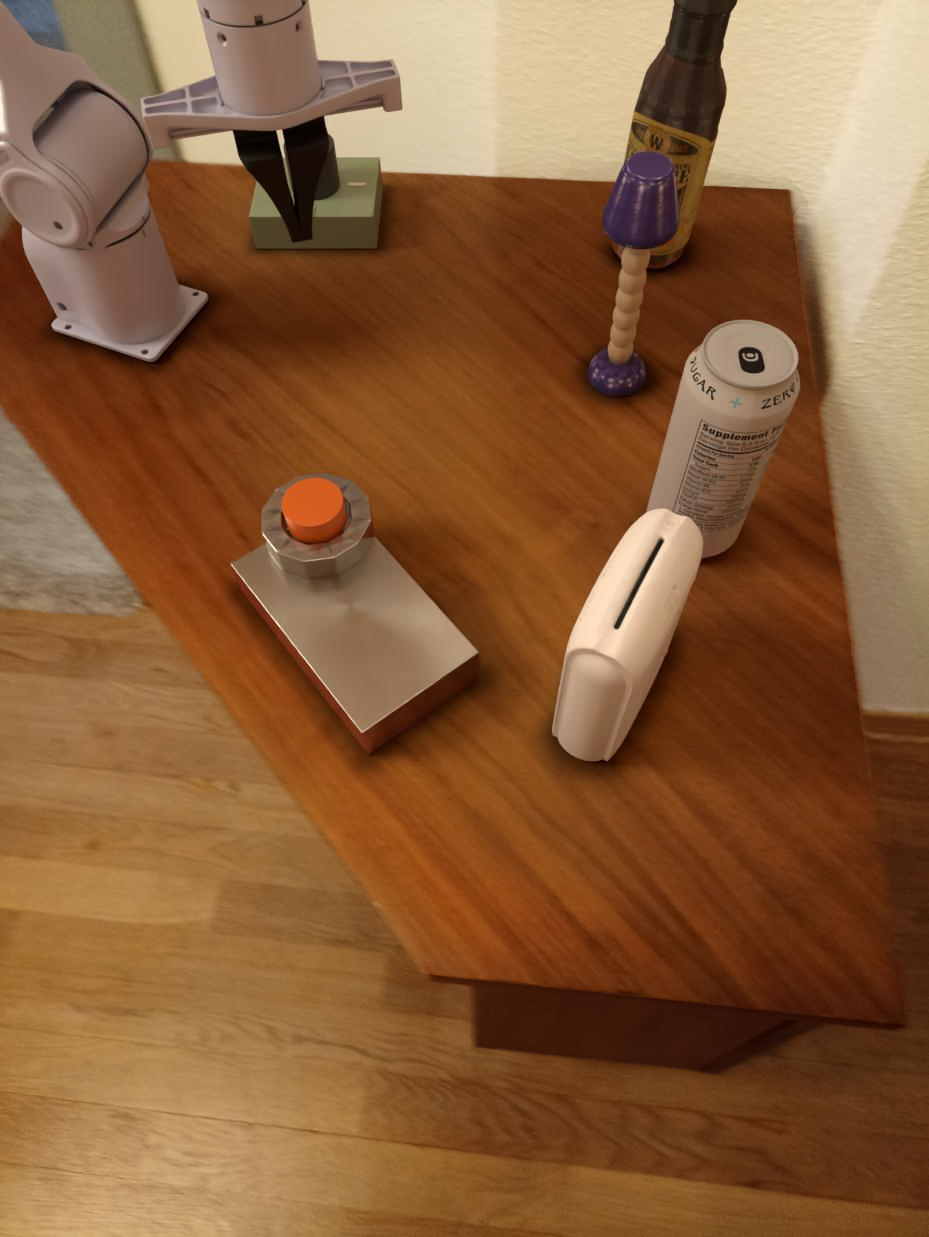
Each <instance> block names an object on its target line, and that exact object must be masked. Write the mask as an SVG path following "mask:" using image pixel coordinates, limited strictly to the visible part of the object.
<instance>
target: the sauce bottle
mask: <svg viewBox="0 0 929 1237" xmlns="http://www.w3.org/2000/svg"><path fill="white" fill-rule="evenodd" d="M737 4H738V0H673V6H672V12H671V18H670V21H669V25H668V32H667V34H666V36H665V40H664V45H663V46H662V48H660V51H659V52H658V53H657V55H656V57H655V58H654V59H653V60H652V62H651V63H650V65H649V66H648V68H647V70H646V71H645V74H644V77H643V80H642V84H641V87H640V90H639V93H638V96H637V99H636V103H635V105H634V106H635V107H634V110H633V113H632V118H631V123H630V129H629V133H628V139H627V144H626V149H625V153H624V154H625V155H624V159H623V164H624V163H625V161H626V160H627V159H628V158H629V157H630V156H632V155H633V154H635V153H638V152H642V151H654V152H659V153H662V154H664V155H665V156H667V157H668V158H669V159H670V160H671V161H672V163H673V164H674V167H675V172H676V181H677V193H678V206H679V226H678V230H677V232H676V234H675V235H674V237H673V238H672V239H671V240H670V241H668V242H667V243H666V244H664V245H662V246H659V247H656V248H653V249H649V251H650V261H649V264H648V266H647V268H646V269H650V270H661V269H664V268H666V267H668V265H672V264H673V263H675V262H677V261H678V260H679V259H681V257H682V254H683V252H684V251H685V248H686V245H687V244H688V242H689V239H690V236H691V232H692V229H693V225H694V223H695V222H694V221H695V218H696V214H697V211H698V207H699V203H700V200H701V195H702V192H703V189H704V184H705V181H706V179H707V178H706V177H707V174H708V171H709V168H710V164H711V159H712V156H713V153H714V149H715V146H716V142H717V138H718V135H719V125H720V123H721V118H722V115H723V112H724V108H725V107H726V101H727V94H728V92H727V91H728V87H727V82H726V77H725V71H724V68H723V67H722V53H723V51H724V47H725V37H726V34H727V30H728V27H729V22H730V18H731V14H732V12H733V10H734V9H735V7H736V6H737ZM611 249H612V251H614V253H615V255H616V256H617V257H618V258H619V259H620V260H621V258H622V253H623V251H624V249H625V247H624V246H621V245H619V244H617V243H616V242H614V241H612V240H611Z"/></svg>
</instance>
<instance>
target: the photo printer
mask: <svg viewBox="0 0 929 1237" xmlns="http://www.w3.org/2000/svg"><path fill="white" fill-rule="evenodd" d="M702 551H703V538H702V535H701V532H700V530H699V528H698V527H697V525H696V524H695V523H694V522H693V521H692V519H690V518H689V517H687V516H681V515H677V514H675V513H673V512H671V511H670V510H668V509H655V510H651V511H649V512H647V513H646V512H644V514H643V515H641V516H640V517H638V519H637V520H635V522H633V523H632V524H631V526H630V527H629V528H628V529H627V531H626V532H624V534H623V536H622V538H621V539H620V541H619V542H618V544H617V545H616V547H615V548H614V549H613V551H612V553H611V555H610V556H609V558H608V560H607V562H606V563H605V564H604V567H603V569H602V570H601V571H600V574H599V576H598V577H597V579H596V580H595V583H594V585H593V587H592V589H591V590H590V593H589V594H588V596H587V598H586V600H585V602H584V604H583V606H582V609H581V610H580V612H579V615H578V617H577V619H576V621H575V623H574V626H573V628H572V630H571V633H570V635H569V639H568V642H567V645H566V649H565V654H564V659H563V665H562V669H561V675H560V681H559V686H558V692H557V697H556V702H555V708H554V715H553V719H552V720H553V721H552V727H551V733H552V736H553V737H556V738H557V740H558V743H559V745H560V746H561V747H562V749H563V750H564V751H565V752H567V753H568V754H569V755H571V756H573V757H574V758H576V759H578V760H581V761H586V762H599V761H601V760H604V761H605V762H608V761H610V759H611V758H612V757H613V756H614V755H615V754H616V752H617V751H618V750H619V748H620V747H621V745H622V744H623V742H624V740H625V739H626V737H627V736H628V733H629V731H630V730H631V728H632V725H633V724H634V722H635V720H636V718H637V716H638V714H639V712H640V711H641V708H642V706H643V704H644V702H645V700H646V698H647V696H648V694H649V692H650V690H651V688H652V686H653V684H654V682H655V679H656V677H657V675H658V673H659V671H660V669H661V666H662V664H663V661H664V659H665V657H666V656H667V654H668V651H669V647H670V645H671V642H672V639H673V636H674V634H675V632H676V629H677V626H678V624H679V620H680V617H681V615H682V612H683V610H684V607H685V604H686V602H687V600H688V596H689V595H690V591H691V589H692V587H693V584H694V583H695V580H696V577H697V574H698V570H699V567H700V564H701V561H702V559H701V557H702Z"/></svg>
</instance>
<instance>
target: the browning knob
mask: <svg viewBox="0 0 929 1237" xmlns="http://www.w3.org/2000/svg"><path fill="white" fill-rule="evenodd" d="M328 136H329V152H328V157H327V159H326V162H325V164H324V166H323V169H322V172H321V175H320V178H319V182H318V185H317V190H316V194H315V200H318V199H323V198H327V197H329V196H331V195H333V194H334V193H335V192H336V191H337V190H338V188H339V186H340V179H339V172H338V165H337V158H336V157H337V152H336V146H335V145H336V144H335V140H334V138H333V136H332V135H331V134H330V133H328ZM282 145H283V146H282V148H283V154H284V158H285V159H286V164H287V169H288V174H289V179H290V184H291V189H292V180H291V172H290V166H289V161H288V156H287V151H286V146H285V142H283V144H282ZM292 191H293V189H292Z"/></svg>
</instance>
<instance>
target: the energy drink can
mask: <svg viewBox="0 0 929 1237" xmlns="http://www.w3.org/2000/svg"><path fill="white" fill-rule="evenodd" d="M798 364H799V351H798V349H797V347H796V344H794V341H793V340H792V339H791V338H790V337H789V336H788V335H787V334H786V333H785V332H783V331H782V330H781V329H779V328H778V327H776V326H773V325H771V324H769V323H766V322H763V321H758V320H754V319H734V320H730V321H726V322H723V323H721V324H718V325H717V326H715V327H713V328H712V329H710V331H709V332H707V334H706V336H705V337H704V339H703V342H702V343H701V344H699V346H697V347H696V348H695V349H694V350H693V351H692V352H691V353H690V354H689V356H688V357H687V359H686V361H685V364H684V368H683V370H682V376H681V379H680V382H679V387H678V389H677V394H676V398H675V401H674V404H673V405H674V406H673V409H672V412H671V416H670V421H669V424H668V427H667V431H666V436H665V438H664V443H663V446H662V451H661V454H660V457H659V462H658V466H657V470H656V473H655V477H654V481H653V484H652V488H651V493H650V496H649V500H648V503H647V507H646V510H645V513H647V512H649V511H651V510H655V509H668V510H670V511H671V512H673V513H675V514H677V515H681V516H687V517H689V518H690V519H692V521H693V522H694V523H695V524H696V525H697V527H698V528H699V530H700V532H701V535H702V538H703V551H702V557H701V560H702V559H706V558H709V557H713V556H717V555H719V554H721V553H724V552H725V551H727V550H728V549H730V548H731V547H732V545H733V544H734V543H735V542H736V541H737V539H738V537H739V535H740V532H741V531H742V527H743V525H744V523H745V521H746V519H747V516H748V513H749V512H750V509H751V507H752V504H753V502H754V499H755V497H756V495H757V492H758V490H759V487H760V485H761V483H762V481H763V478H764V476H765V474H766V472H767V469H768V467H769V464H770V462H771V461H772V457H773V455H774V453H775V450H776V449H777V448H776V447H777V445H778V443H779V441H780V438H781V436H782V435H783V434H782V433H783V431H784V429H785V427H786V424H787V423H788V420H789V418H790V415H791V412H792V411H793V408H794V406H795V403H796V402H797V399H798V396H799V395H800V389H801V381H800V374H799V370H798V368H797V367H798Z"/></svg>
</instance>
